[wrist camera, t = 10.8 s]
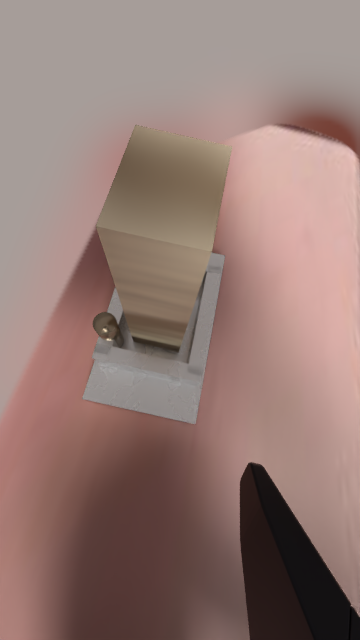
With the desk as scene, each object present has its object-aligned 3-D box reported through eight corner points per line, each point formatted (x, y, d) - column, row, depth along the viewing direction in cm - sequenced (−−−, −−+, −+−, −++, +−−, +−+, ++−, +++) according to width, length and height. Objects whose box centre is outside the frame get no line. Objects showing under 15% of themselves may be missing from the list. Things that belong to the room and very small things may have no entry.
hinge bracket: (193, 424, 19) (205, 426, 15) (85, 399, 19) (62, 394, 15) (222, 261, 24) (238, 224, 20) (136, 242, 24) (131, 200, 20)
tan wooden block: (178, 351, 20) (211, 251, 8) (133, 341, 20) (95, 225, 8) (190, 298, 22) (232, 146, 9) (147, 289, 22) (135, 125, 9)
